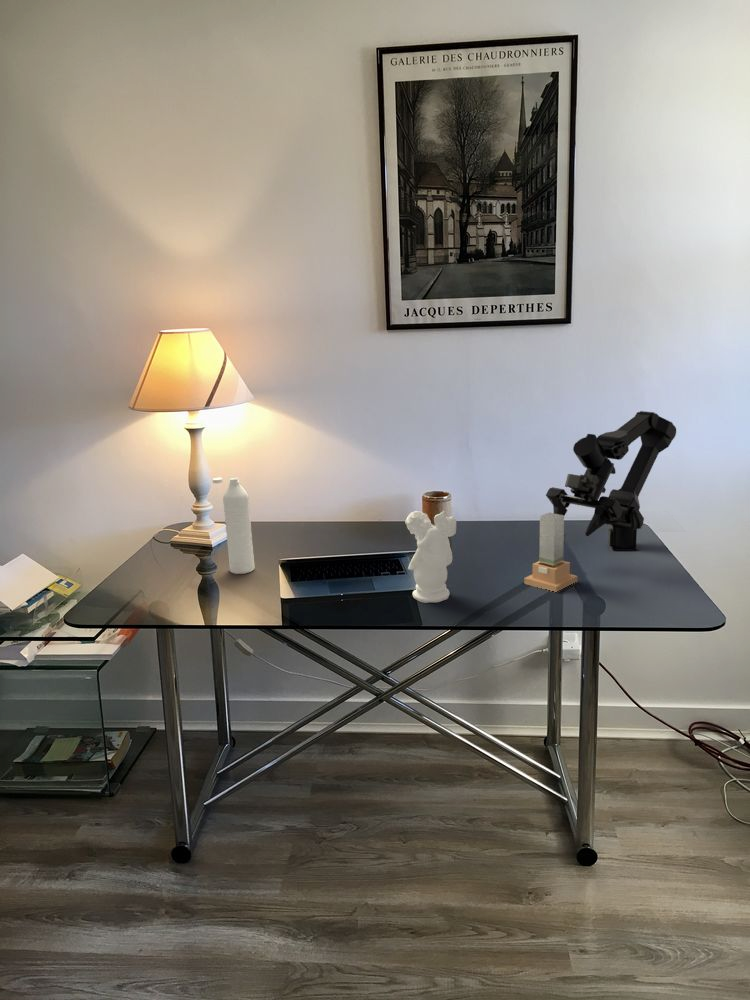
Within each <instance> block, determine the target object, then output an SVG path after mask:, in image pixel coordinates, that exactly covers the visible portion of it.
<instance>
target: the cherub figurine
mask: <svg viewBox="0 0 750 1000" xmlns="http://www.w3.org/2000/svg"><path fill="white" fill-rule="evenodd" d="M433 521H434V524H433V523H431V522H432V521H431V519H430V517H429V516H428V514H427V513H425V512H423V511H422V510H420V511H419V510H414V511H412V512H410V513H409V514H408V515H407V518H406V519H405V522H404V523H405V525H406V528H407V530H408V531H409V533H410V534H411V535H414V538H415V540H416V546H417V548H416V550H415V553H414V554H413V557H412V558H411V560H410V562H409V564H408V567H407V570H409V571H413V579H414V581H415V583H416V584H415V589H416V590H415V589H414V590H413V591H412V597H413V598H414V599H415V600H416V601H418V602H420V603H426V604H428V603H436V604H437V603H440V602H442V601H443V602H444V601H445V600H448V599H449V598H450V597H449V596H450V590H449V589H448V588H447V584H446V582H447V579H448V568H447V567H448V566H450V565H451V564H452V562H453V552H452V549H451V546H450V539H449V537H453V536H454V535H456V533H457V532H456V531H457V518H456V517H455V516H452V515H451V516H450V517H449V516H447V514H446V511H445V510H443V511H441V512H440V513H439V514H437V513H436V515H435V516H434V517H433Z"/></svg>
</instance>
